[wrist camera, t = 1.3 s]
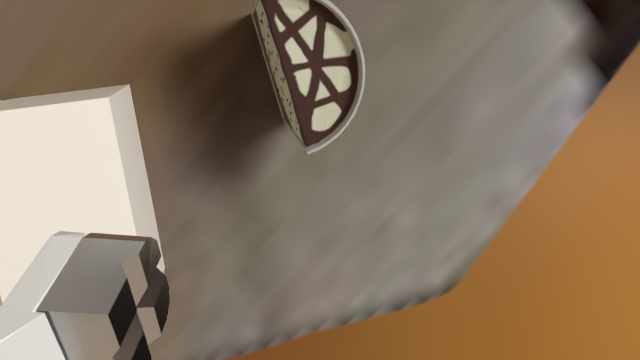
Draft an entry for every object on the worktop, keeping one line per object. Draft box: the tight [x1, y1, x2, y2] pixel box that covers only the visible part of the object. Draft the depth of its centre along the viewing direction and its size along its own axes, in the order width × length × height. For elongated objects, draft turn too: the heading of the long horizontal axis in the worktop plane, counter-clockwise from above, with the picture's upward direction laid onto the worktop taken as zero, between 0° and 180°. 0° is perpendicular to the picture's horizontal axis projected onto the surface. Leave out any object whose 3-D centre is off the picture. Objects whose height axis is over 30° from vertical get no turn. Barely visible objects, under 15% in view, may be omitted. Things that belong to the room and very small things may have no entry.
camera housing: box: [0, 84, 165, 307], centre depth 42 cm, size 18×10×12 cm, turn 6°
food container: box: [251, 0, 365, 155], centre depth 44 cm, size 12×6×10 cm, turn 16°
